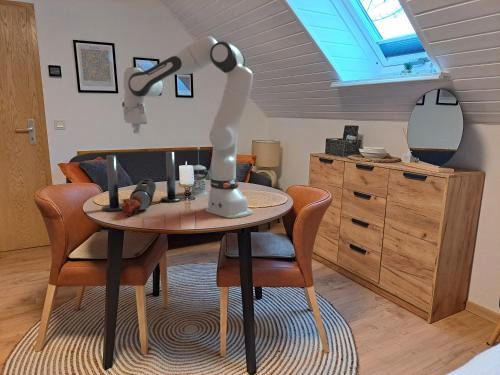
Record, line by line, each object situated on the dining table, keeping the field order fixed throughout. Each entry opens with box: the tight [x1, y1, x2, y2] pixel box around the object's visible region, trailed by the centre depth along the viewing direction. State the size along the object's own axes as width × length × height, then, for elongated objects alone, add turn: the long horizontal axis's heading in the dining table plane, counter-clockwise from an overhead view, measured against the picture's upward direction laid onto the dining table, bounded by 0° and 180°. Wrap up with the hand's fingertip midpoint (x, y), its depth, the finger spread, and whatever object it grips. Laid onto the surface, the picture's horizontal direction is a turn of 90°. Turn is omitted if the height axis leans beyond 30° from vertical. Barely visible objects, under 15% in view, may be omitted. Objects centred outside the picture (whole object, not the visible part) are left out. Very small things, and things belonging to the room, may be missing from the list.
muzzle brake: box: [129, 177, 157, 211], centre depth 169 cm, size 10×28×10 cm, turn 10°
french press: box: [190, 146, 212, 196], centre depth 193 cm, size 10×12×25 cm
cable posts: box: [102, 151, 183, 213], centre depth 167 cm, size 10×38×24 cm, turn 128°
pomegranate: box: [122, 198, 141, 217], centre depth 152 cm, size 7×7×10 cm
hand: (136, 133), depth 172 cm, fingers closed
